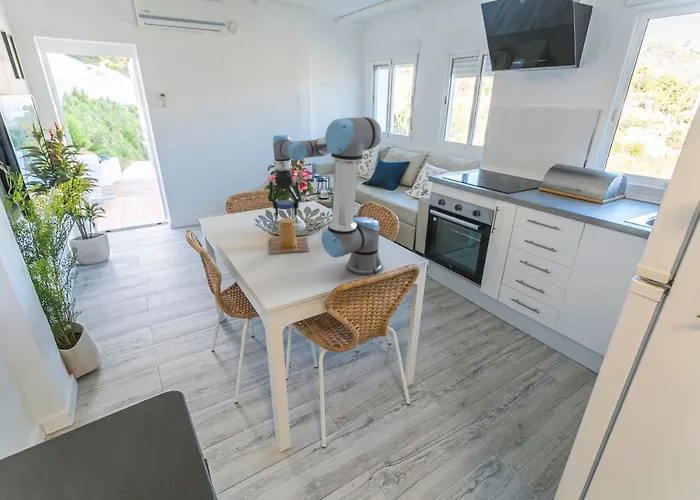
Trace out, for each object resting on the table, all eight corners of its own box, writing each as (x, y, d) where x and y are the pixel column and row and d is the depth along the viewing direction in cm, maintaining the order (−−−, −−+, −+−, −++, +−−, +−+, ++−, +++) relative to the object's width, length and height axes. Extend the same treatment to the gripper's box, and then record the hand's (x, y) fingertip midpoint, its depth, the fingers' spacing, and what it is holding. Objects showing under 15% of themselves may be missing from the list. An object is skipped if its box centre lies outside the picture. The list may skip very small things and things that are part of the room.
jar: (297, 246, 178) (295, 222, 173) (280, 247, 177) (278, 223, 171) (295, 240, 186) (294, 217, 181) (279, 241, 184) (278, 218, 179)
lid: (280, 204, 177) (280, 199, 177) (297, 204, 176) (296, 200, 175) (274, 209, 169) (274, 204, 169) (291, 209, 168) (291, 205, 167)
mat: (307, 251, 174) (307, 250, 174) (270, 254, 171) (270, 253, 171) (304, 237, 192) (304, 236, 192) (270, 239, 189) (270, 238, 188)
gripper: (258, 170, 162) (263, 217, 171) (305, 170, 162) (307, 216, 171) (262, 167, 169) (266, 212, 178) (306, 167, 169) (308, 212, 178)
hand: (286, 214), depth 174 cm, fingers closed on lid, 9 cm apart
